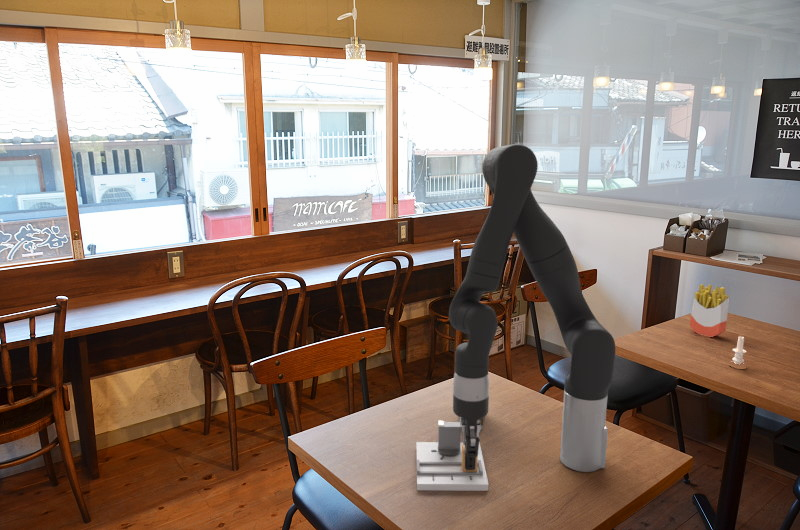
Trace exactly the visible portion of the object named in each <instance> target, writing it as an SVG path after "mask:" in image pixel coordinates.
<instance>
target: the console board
mask: <svg viewBox="0 0 800 530" xmlns="http://www.w3.org/2000/svg"><path fill="white" fill-rule="evenodd" d="M415 443H416V447H415V448H416V490H417V491H446V492H447V491H448V492H449V491H453V492H454V491H455V492H456V491H458V492H460V491H461V492H463V491H469V492H472V491H474V492H476V491H477V492H478V491H479V492H482V491H484V492H487V491H489V479H488V475H487V472H486V470H487V469H486V467H485V466H486V465H485V462H484V461H485V460H484V456H483V452H482V448H481V443H480V442H479V448H478V462H477V472H462V444H463V441H462V442H461V441H460V453H459V454H457V455H455V456H445V455H442V454H440V453H439V452H438V441H432V442H431V441H416V442H415Z"/></svg>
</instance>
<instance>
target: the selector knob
mask: <svg viewBox="0 0 800 530" xmlns="http://www.w3.org/2000/svg"><path fill="white" fill-rule="evenodd" d="M437 424H438V425H437V442H438V452H439V453H440V454H442V455H445V456H455V455H457V454H459V453H460V442H461V437H462V434H461V426H460V422H458V421H444V420H440V419H439V420H438V422H437Z"/></svg>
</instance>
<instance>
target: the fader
mask: <svg viewBox="0 0 800 530" xmlns="http://www.w3.org/2000/svg"><path fill="white" fill-rule="evenodd" d="M464 451H465V445H464V444H462V472H477V462H478V456H477V457H476V462H475V470H466V469H465V453H464Z"/></svg>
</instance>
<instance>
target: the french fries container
mask: <svg viewBox="0 0 800 530" xmlns="http://www.w3.org/2000/svg"><path fill="white" fill-rule="evenodd" d="M692 303H693V304H692V308H691V312H690V313H691V314H690V322H689V326H690V328H691V329H692V330H693V331H694V332H696V333H699V334H703V335H707V336H710V337H712V338H715V337H718V336H719V335H721V334H723V333H725V332H726V329H727V320H728V314H729V313H728V312H729V304H730V297H729V295H728V294H726V288H725V287H719V286H715V289H712V284H707V286H705V284H699V285H698V291H696V292H694V298H693V302H692ZM696 333H695V334H696ZM699 334H698V335H699ZM703 335H702V336H703ZM714 336H715V337H714Z"/></svg>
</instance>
